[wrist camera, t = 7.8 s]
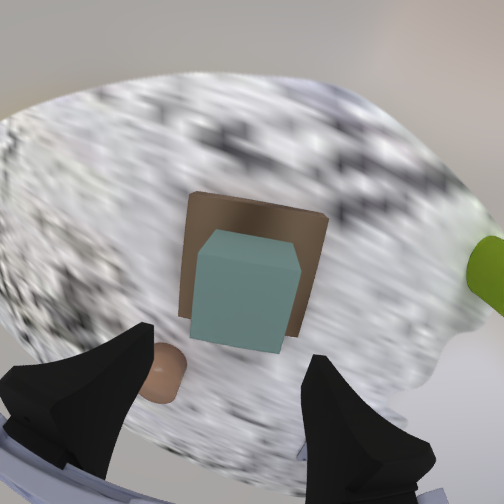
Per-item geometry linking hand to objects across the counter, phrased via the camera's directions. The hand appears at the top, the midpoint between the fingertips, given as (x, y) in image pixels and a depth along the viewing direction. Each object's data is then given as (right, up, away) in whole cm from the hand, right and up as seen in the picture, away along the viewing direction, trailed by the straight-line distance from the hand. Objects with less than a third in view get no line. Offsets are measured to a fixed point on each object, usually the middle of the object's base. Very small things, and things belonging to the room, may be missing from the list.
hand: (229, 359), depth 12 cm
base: (+1, +4, +9) cm, 10 cm away
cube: (+1, +3, +7) cm, 8 cm away
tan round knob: (-7, -5, +12) cm, 15 cm away
